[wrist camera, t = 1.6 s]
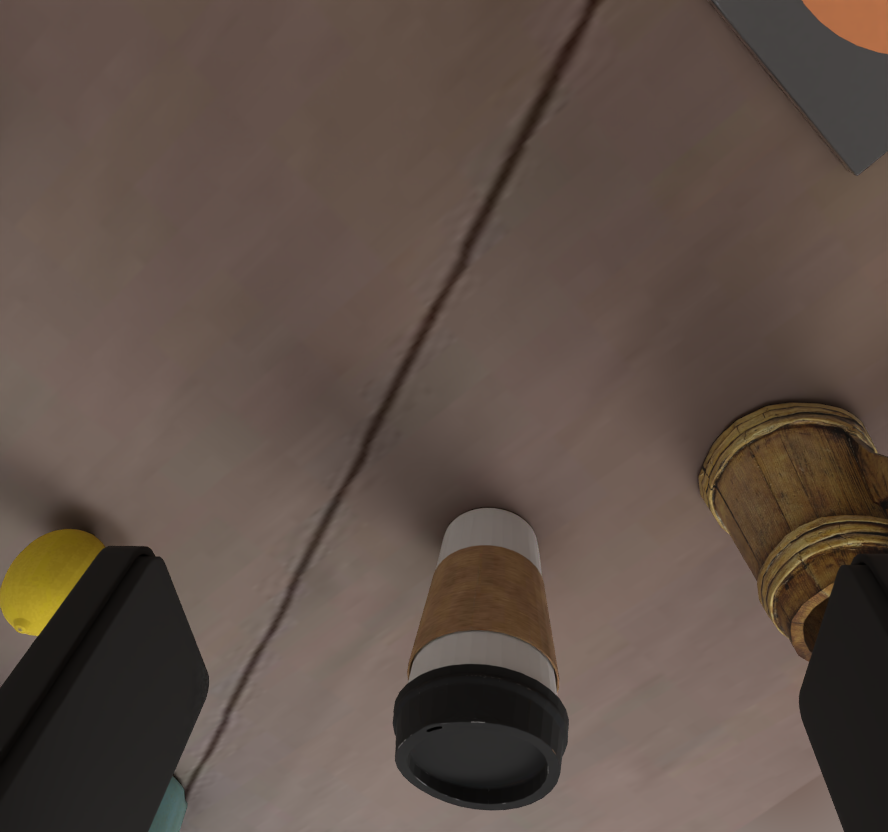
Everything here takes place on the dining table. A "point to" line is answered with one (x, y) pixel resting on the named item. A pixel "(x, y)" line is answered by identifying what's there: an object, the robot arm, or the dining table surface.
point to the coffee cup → (483, 673)
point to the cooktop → (824, 66)
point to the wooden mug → (798, 505)
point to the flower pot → (170, 809)
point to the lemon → (45, 577)
